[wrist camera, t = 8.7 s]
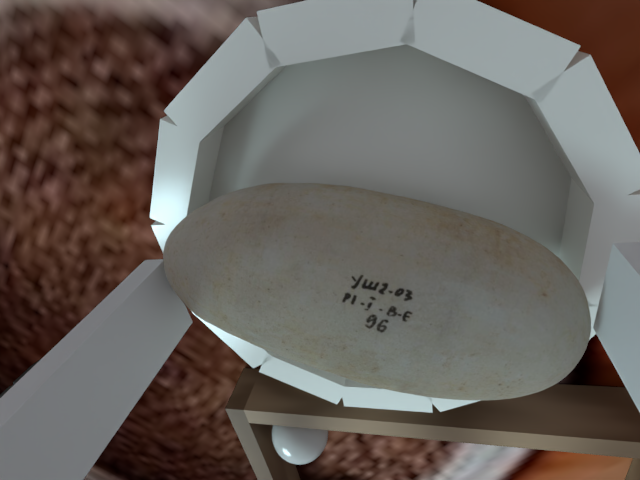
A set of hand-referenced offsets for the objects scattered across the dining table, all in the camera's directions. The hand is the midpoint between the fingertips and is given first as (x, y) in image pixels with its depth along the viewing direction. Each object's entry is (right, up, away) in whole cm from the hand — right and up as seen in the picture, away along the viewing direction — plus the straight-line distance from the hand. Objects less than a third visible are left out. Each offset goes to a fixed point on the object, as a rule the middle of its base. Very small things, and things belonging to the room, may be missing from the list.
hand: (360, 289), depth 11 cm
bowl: (+1, +2, +3) cm, 4 cm away
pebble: (-2, -8, +10) cm, 13 cm away
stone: (+1, +1, +2) cm, 3 cm away
